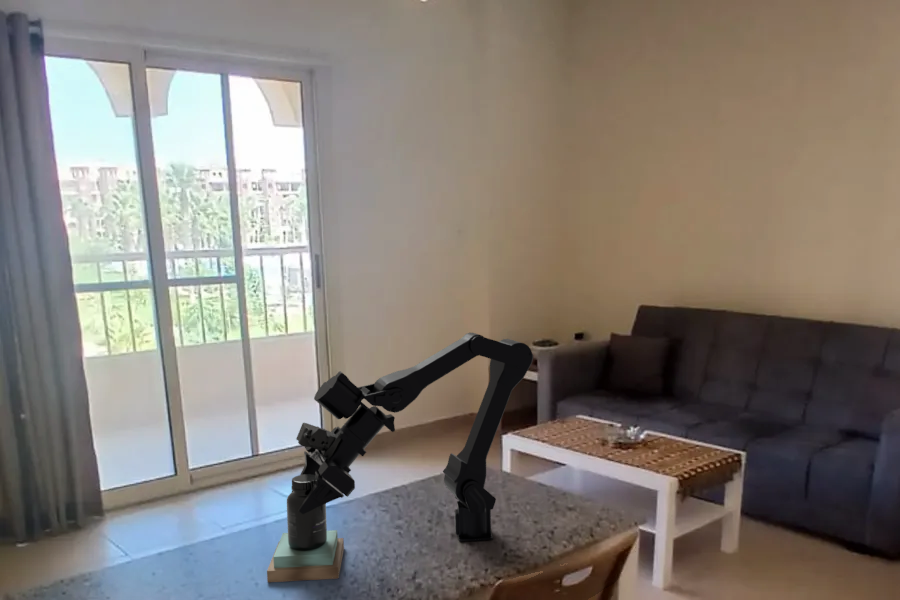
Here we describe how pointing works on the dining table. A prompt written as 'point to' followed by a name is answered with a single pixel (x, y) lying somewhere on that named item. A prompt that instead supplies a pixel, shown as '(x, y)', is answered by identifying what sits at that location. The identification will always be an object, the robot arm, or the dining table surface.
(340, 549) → the tower base
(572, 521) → the dining table surface
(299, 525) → the supplement bottle
